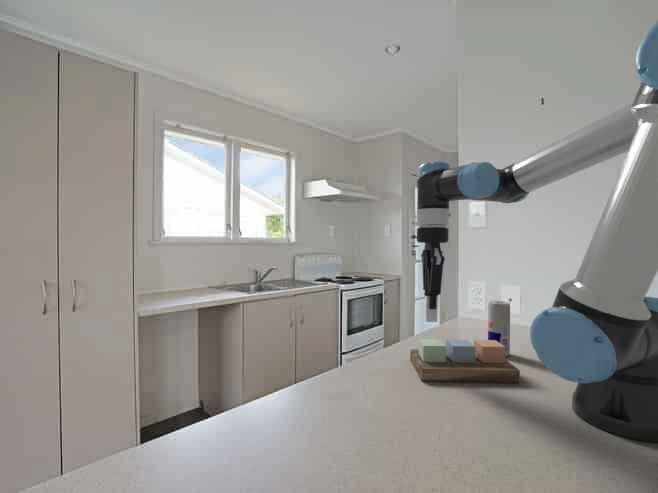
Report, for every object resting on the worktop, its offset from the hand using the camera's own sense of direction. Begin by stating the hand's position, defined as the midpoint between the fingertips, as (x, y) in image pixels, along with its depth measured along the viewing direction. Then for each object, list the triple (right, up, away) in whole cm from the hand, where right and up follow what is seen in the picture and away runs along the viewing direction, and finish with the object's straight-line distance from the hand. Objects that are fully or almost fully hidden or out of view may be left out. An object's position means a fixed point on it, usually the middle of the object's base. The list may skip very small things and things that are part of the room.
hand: (430, 321), depth 86 cm
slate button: (+7, -9, 0) cm, 12 cm away
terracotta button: (+14, -9, -1) cm, 17 cm away
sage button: (0, -9, 0) cm, 9 cm away
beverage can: (+23, -12, +12) cm, 28 cm away
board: (+7, -12, 0) cm, 14 cm away
